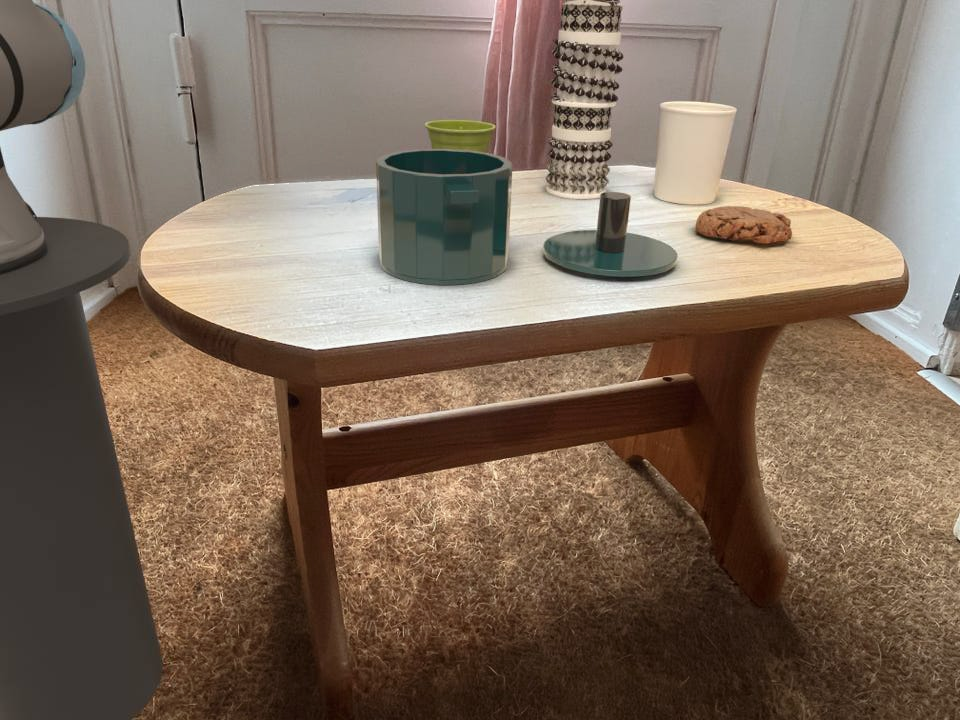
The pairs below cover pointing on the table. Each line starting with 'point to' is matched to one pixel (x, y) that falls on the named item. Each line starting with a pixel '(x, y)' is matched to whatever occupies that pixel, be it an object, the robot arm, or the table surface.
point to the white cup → (691, 150)
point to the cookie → (744, 224)
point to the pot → (443, 215)
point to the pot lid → (610, 245)
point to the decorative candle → (584, 97)
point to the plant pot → (460, 134)
